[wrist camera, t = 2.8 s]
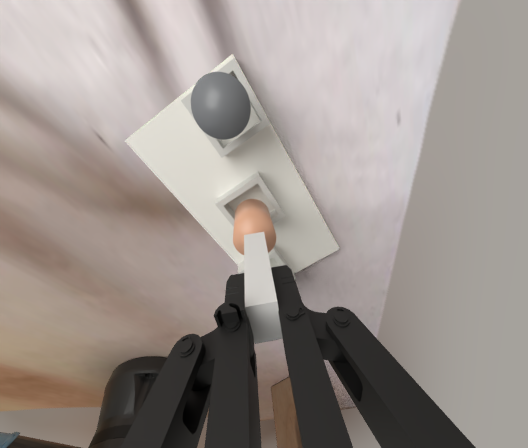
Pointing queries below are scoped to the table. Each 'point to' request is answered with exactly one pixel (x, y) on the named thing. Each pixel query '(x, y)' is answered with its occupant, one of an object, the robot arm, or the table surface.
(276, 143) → the button board
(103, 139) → the table surface
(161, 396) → the robot arm
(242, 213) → the terracotta plunger
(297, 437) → the wooden block
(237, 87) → the charcoal plunger
